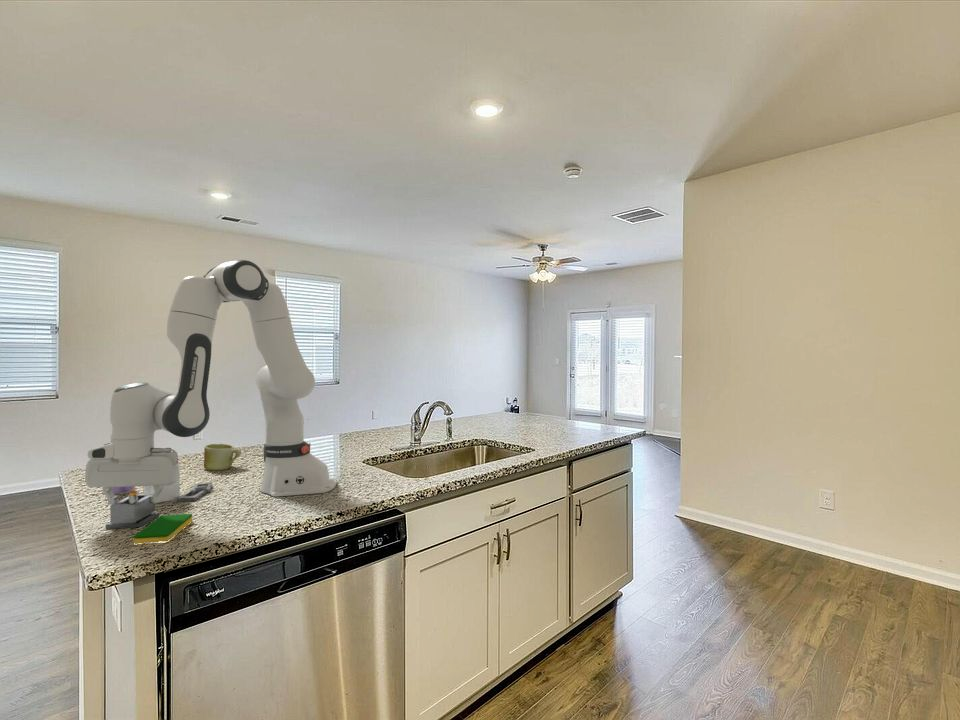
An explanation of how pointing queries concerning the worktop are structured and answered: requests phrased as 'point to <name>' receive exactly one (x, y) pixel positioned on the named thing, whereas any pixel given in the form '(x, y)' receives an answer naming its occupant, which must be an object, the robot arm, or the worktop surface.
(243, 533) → the worktop surface
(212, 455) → the mug
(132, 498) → the keeper
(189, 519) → the dish sponge
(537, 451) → the worktop surface
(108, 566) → the worktop surface
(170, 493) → the jar
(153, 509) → the link
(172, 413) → the robot arm
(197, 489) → the chain tail
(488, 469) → the worktop surface
